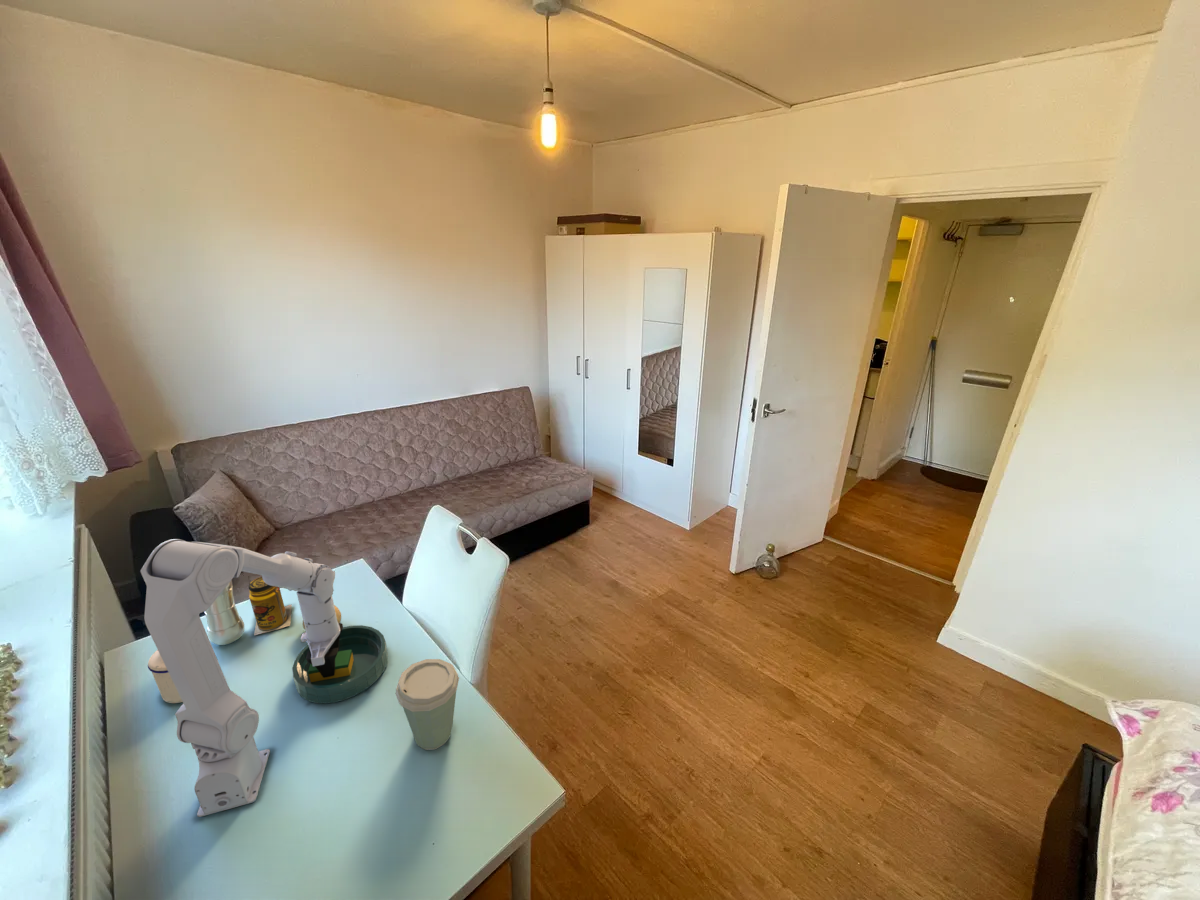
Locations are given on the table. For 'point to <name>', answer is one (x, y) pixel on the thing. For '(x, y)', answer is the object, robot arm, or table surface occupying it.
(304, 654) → the bowl
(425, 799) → the table surface
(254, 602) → the condiment
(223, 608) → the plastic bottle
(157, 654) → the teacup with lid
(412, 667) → the disposable coffee cup
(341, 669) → the sponge
